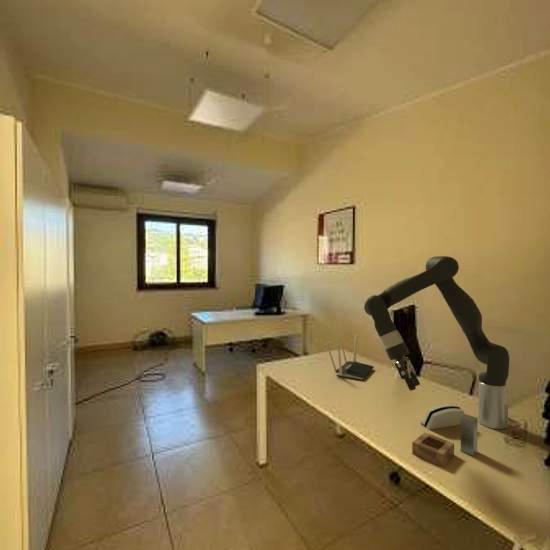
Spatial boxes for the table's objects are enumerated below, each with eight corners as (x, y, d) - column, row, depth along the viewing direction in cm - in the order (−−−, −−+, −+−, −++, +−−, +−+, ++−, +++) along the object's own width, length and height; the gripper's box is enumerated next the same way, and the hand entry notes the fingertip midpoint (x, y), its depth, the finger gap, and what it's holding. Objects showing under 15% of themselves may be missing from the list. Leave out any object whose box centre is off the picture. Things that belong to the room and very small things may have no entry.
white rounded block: (453, 418, 136) (459, 400, 132) (461, 427, 131) (468, 408, 128) (419, 423, 132) (425, 404, 128) (426, 432, 127) (433, 413, 124)
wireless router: (360, 384, 176) (360, 348, 176) (322, 376, 189) (322, 343, 188) (376, 367, 205) (376, 336, 204) (342, 362, 217) (342, 333, 217)
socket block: (424, 442, 117) (424, 432, 117) (454, 454, 110) (454, 443, 110) (412, 453, 111) (412, 442, 111) (442, 467, 103) (442, 454, 103)
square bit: (464, 446, 115) (464, 413, 114) (477, 451, 112) (477, 417, 111) (460, 451, 112) (460, 417, 112) (473, 456, 109) (473, 421, 109)
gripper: (399, 342, 113) (422, 387, 107) (407, 340, 125) (428, 380, 119) (380, 350, 116) (401, 394, 110) (389, 347, 128) (409, 387, 122)
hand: (415, 387), depth 115 cm, fingers open, 8 cm apart
